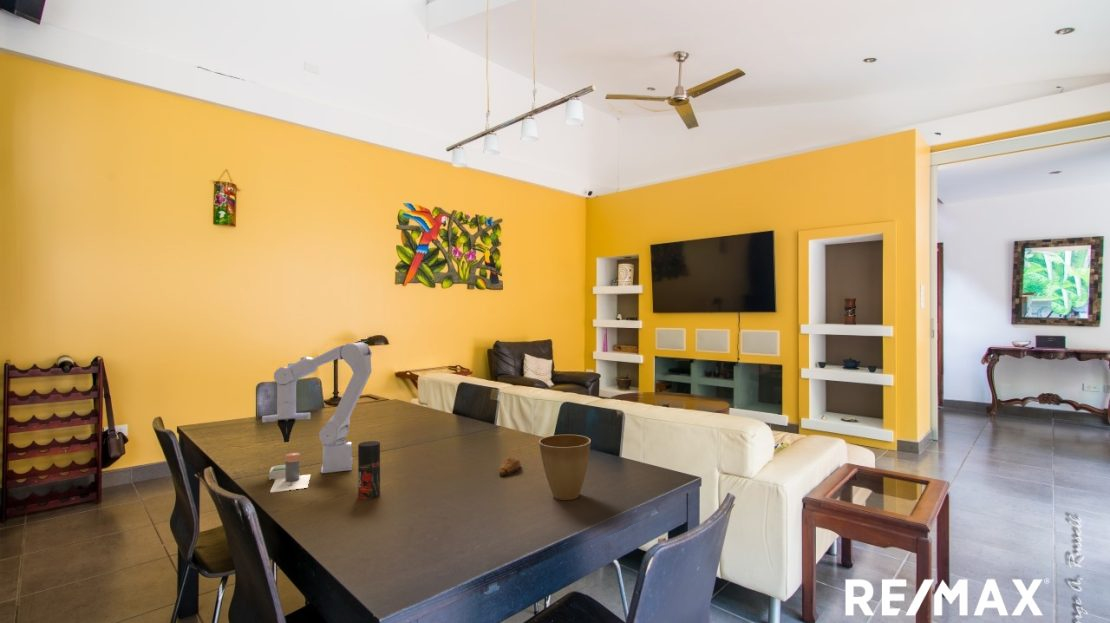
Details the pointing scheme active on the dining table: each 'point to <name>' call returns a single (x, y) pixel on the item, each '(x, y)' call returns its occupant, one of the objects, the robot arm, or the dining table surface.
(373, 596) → the dining table surface
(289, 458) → the grey and orange block
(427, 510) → the dining table surface
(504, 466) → the croissant
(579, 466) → the plant pot
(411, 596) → the dining table surface
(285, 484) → the paper sheet
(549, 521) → the dining table surface
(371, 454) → the deodorant
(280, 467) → the button
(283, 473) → the button housing
